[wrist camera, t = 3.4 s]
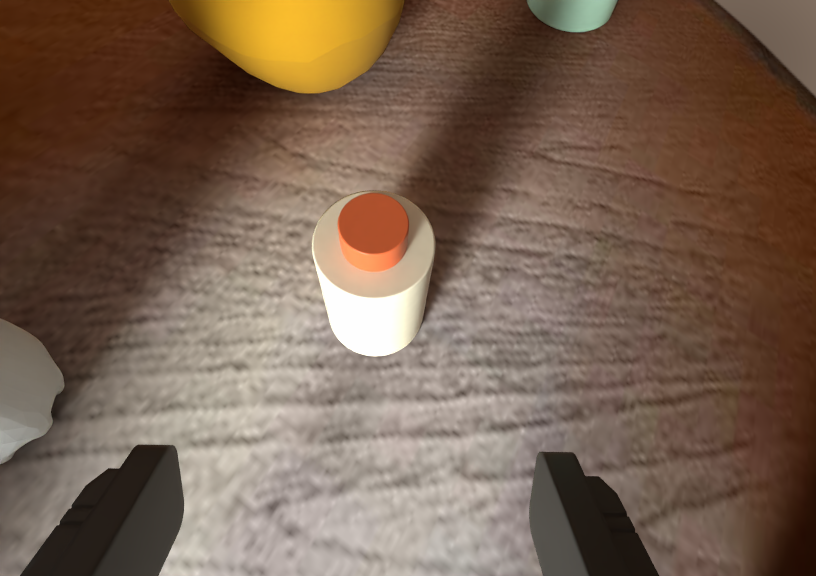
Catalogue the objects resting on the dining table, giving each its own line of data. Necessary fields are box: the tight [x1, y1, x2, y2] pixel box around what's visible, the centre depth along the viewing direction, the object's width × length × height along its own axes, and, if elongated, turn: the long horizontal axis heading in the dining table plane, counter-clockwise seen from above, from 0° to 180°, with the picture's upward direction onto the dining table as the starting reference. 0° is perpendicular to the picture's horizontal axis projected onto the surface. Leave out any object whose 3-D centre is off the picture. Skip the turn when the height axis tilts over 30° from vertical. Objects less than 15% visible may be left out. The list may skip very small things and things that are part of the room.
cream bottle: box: [312, 190, 436, 356], centre depth 25 cm, size 5×5×9 cm
